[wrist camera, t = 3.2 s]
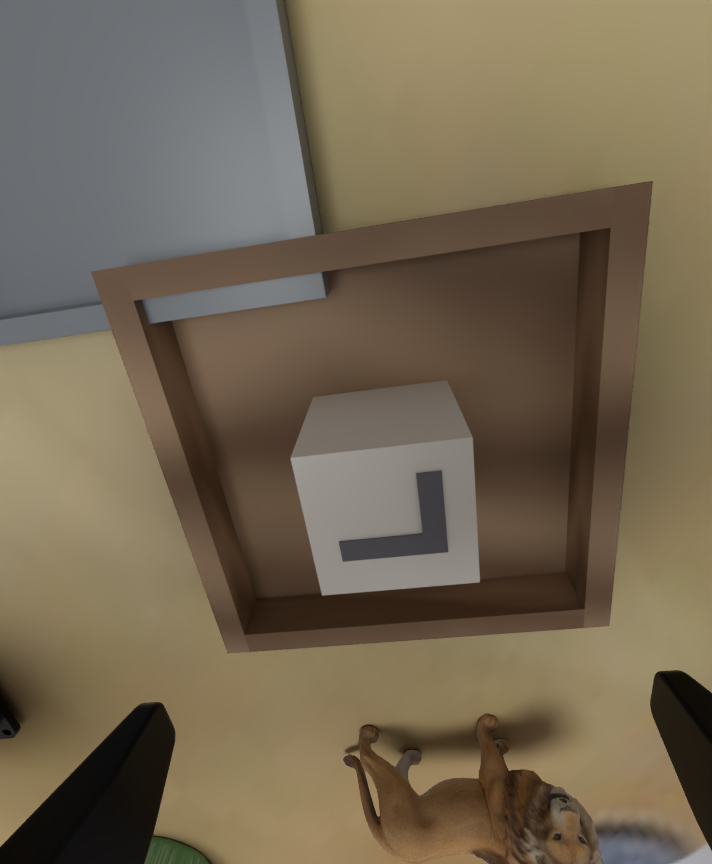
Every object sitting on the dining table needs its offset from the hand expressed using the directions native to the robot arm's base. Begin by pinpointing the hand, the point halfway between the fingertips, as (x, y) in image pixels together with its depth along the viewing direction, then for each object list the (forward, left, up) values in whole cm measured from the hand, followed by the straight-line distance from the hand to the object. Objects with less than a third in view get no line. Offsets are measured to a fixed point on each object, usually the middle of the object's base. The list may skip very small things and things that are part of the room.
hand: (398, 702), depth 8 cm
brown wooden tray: (0, 0, -11) cm, 11 cm away
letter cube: (0, 0, -11) cm, 11 cm away
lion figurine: (-18, -1, -11) cm, 22 cm away
